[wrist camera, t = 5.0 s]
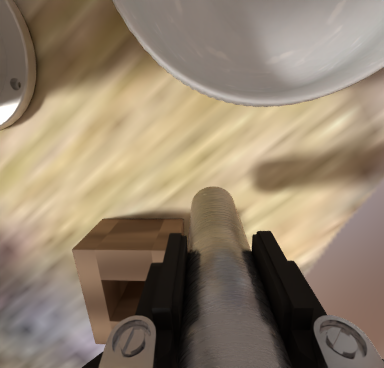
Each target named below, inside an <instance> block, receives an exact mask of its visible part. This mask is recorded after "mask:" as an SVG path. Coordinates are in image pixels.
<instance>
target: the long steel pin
mask: <svg viewBox="0 0 384 368" xmlns="http://www.w3.org/2000/svg"><path fill="white" fill-rule="evenodd" d="M187 252H188V255H187V266H186V278H185V290H184V301H183V313H182V325H181V335H180V340H179V351H178V362H177V368H292V365H291V362H290V360H289V357H288V354H287V351H286V348H285V345H284V343H283V340H282V337H281V334H280V331H279V329H278V326H277V323H276V320H275V317H274V314H273V312H272V309H271V306H270V303H269V300H268V297H267V295H266V292H265V289H264V286H263V283H262V280H261V278H260V275H259V272H258V269H257V266H256V263H255V261H254V258H253V255H252V252H251V249H250V246H249V243H248V241H247V238H246V235H245V232H244V229H243V226H242V224H241V221H240V218H239V215H238V212H237V209H236V207H235V204H234V201H233V198H232V196H231V195H230V194H229V193H228V192H227V191H226V190H224V189H222V188H219V187H207V188H204V189H202V190H200V191H199V192H198V193H197V194H196V195H195V196H194V198H193V200H192V205H191V216H190V227H189V238H188V249H187Z"/></svg>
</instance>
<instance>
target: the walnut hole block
mask: <svg viewBox="0 0 384 368" xmlns="http://www.w3.org/2000/svg"><path fill="white" fill-rule="evenodd" d="M170 233H182V236H184V224H183V219H102V220H101V221H100V222H99V223H98V224H97V225H96V226H95V227H94V228H93V229H92V230H91V231H90V232H89V233H88V234H87V235H86V236H85V237H84V238H83V239H82V240H81V241H80V242H79V243H78V244H77V245H76V246H75V247H74V248H73V249H72V252H73V256H74V260H75V264H76V268H77V272H78V276H79V280H80V284H81V288H82V291H83V295H84V299H85V303H86V307H87V311H88V315H89V319H90V323H91V327H92V331H93V335H94V339H95V343H96V344H106V342H107V339H108V336H109V334H110V332H111V331H112V330H113V328H114V327H115V326H116V325H117V324H118V323H119V322H121V321H122V320H124V319H126V318H128V317H131V316H135V313H136V310H137V306H138V303H139V300H140V297H141V294H142V290H143V287H144V284H145V281H146V278H147V274H148V271H149V268H150V265H151V263H157V262H163V259H164V255H165V251H166V247H167V242H168V238H169V234H170Z"/></svg>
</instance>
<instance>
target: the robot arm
mask: <svg viewBox="0 0 384 368" xmlns="http://www.w3.org/2000/svg"><path fill="white" fill-rule="evenodd" d="M35 82H36V59H35V53H34V46H33V43H32V40H31V36H30V33H29V30H28V27H27V25H26V23H25V21H24V19H23V17H22V15H21V12H20V10H19V9H18V7H17V6H16V4H15V3H14V1H13V0H0V130H2V129H4V128H6V127H8V126H10V125H12V124H13V123H14V122H15V121H16V120H18V119H19V118H20V117H21V116H22V114H23V113H24V112H25V110H26V109H27V107H28V105H29V103H30V101H31V98H32V96H33V93H34V87H35ZM187 255H188V252H187V237H186V236H182V233H170V234H169V238H168V242H167V247H166V251H165V255H164V259H163V262H157V263H151V265H150V268H149V271H148V274H147V278H146V281H145V284H144V287H143V290H142V294H141V297H140V300H139V303H138V306H137V310H136V313H135V316H131V317H128V318H126V319H124V320H122V321H121V322H119V323H118V324H117V325H116V326H115V327H114V328H113V330H112V331H111V332H110V334H109V336H108V339H107V342H106V345H105V348H104V351H103V352H102V353H100V354H99V355H98V356H96V357H95V358H94V359H92V360H91V361H90V362H88V363H87V364H86V365H84V366H83V367H82V368H177V362H178V351H179V340H180V335H181V325H182V313H183V301H184V290H185V278H186V266H187ZM252 255H253V258H254V261H255V263H256V266H257V269H258V272H259V275H260V278H261V280H262V283H263V286H264V289H265V292H266V295H267V297H268V300H269V303H270V306H271V309H272V312H273V314H274V317H275V320H276V323H277V326H278V329H279V331H280V334H281V337H282V340H283V343H284V345H285V348H286V351H287V354H288V357H289V360H290V362H291V365H292V368H384V360H383V359H381V357H380V355H379V354H378V352H377V350H376V349H375V347H374V346H373V344H372V343H371V341H370V340H369V338H368V337H367V336H366V335H365V333H364V332H363V331H361V330H360V329H359V328H358V327H357V326H356V325H354V324H353V323H351V322H349V321H348V320H345V319H343V318H340V317H337V316H332V315H327V314H326V312H325V310H324V309H323V307H322V306H321V304H320V302H319V301H318V299H317V297H316V296H315V294H314V292H313V291H312V289H311V287H310V286H309V284H308V283H307V281H306V280H305V278H304V276H303V274H302V273H301V271H300V269H299V268H298V266H297V265H296V263H295V262H294V261H287V259H286V257H285V256H284V254H283V252H282V250H281V248H280V247H279V245H278V243H277V241H276V240H275V238H274V236H273V234H272V233H271V231H258V232H257V234H255V235H253V237H252Z"/></svg>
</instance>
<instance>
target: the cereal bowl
mask: <svg viewBox="0 0 384 368" xmlns="http://www.w3.org/2000/svg"><path fill="white" fill-rule="evenodd" d="M112 1H113V3H114V5H115V7H116V10H117V11H118V12H119V14H120V15H121V17H122V18H123V20H124V22H125V23H126V25H127V27H128V29H129V31H130V32H131V33H132V34H133V35H134V36H135V37H136V38H137V40H138V42H139V43H140V44H141V45H142V47H143V48H144V50H146V51H147V52H148V53H149V54H150V55H151V56H152V58H153V59H154V60H156V62H157V63H158V64H159V65H160V66H161V67H163V68H164V69H165V70H166V71H167V72H168V73H170V74H172V75H173V77H175V78H176V79H178V80H180V81H181V82H182V83H183V84H185V85H187V86H189V87H190V88H192V89H193V90H197V91H198V92H200V93H201V94H205V95H207V96H208V97H210V98H215V99H216V100H221V101H224V102H226V103H233V104H236V105H244V106H254V107H262V106H263V107H269V106H270V107H271V106H283V105H293V104H297V103H301V102H305V101H311V100H314V99H317V98H320V97H323V96H326V95H329V94H332V93H335V92H337V91H340V90H342V89H344V88H347V87H349V86H351V85H353V84H355V83H357V82H359V81H361V80H363V79H365V78H367V77H369V76H370V75H372V74H374V73H375V72H377V71H379V70H380V69H382V68H383V67H384V0H112Z"/></svg>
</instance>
